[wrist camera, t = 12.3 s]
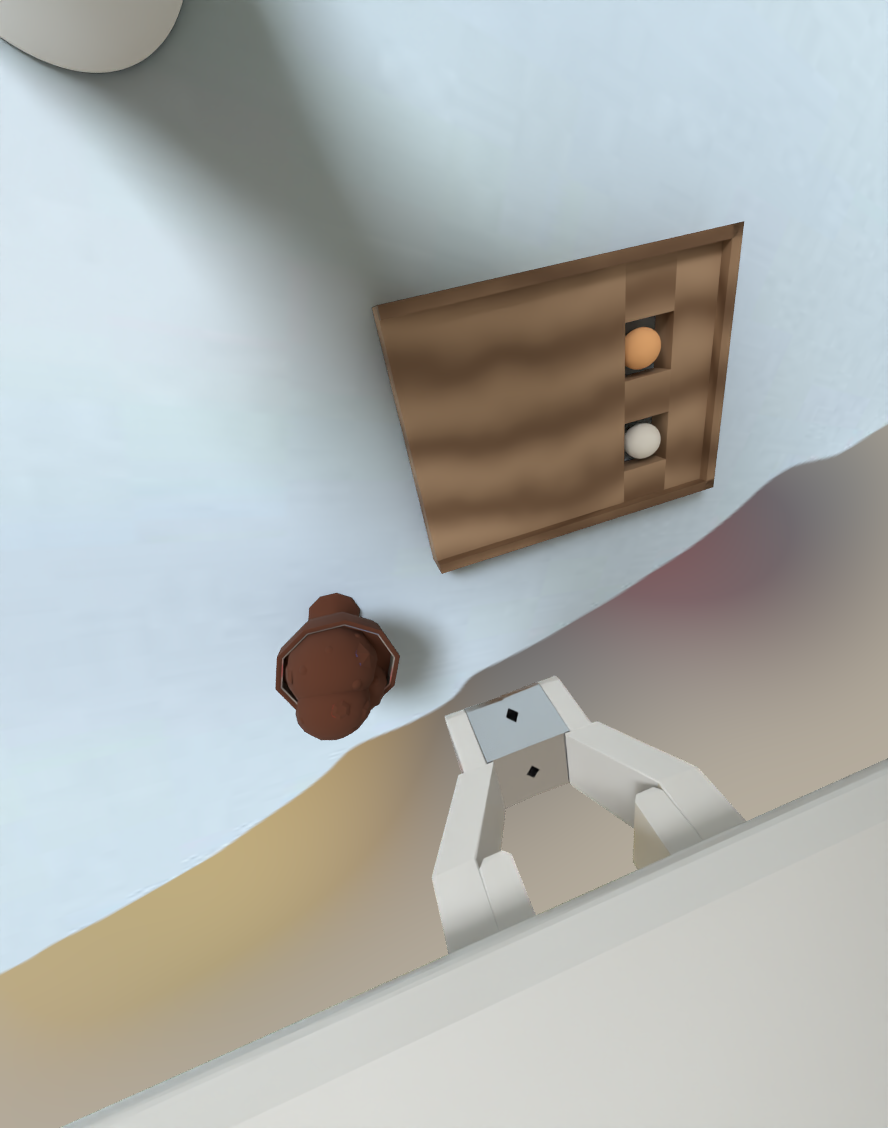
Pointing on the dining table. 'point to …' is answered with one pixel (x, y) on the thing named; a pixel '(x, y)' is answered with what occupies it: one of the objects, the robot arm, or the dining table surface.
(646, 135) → the dining table surface
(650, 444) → the ball grey
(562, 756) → the robot arm
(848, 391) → the dining table surface
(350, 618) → the ice cream bowl
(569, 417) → the wooden tray
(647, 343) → the ball orange
